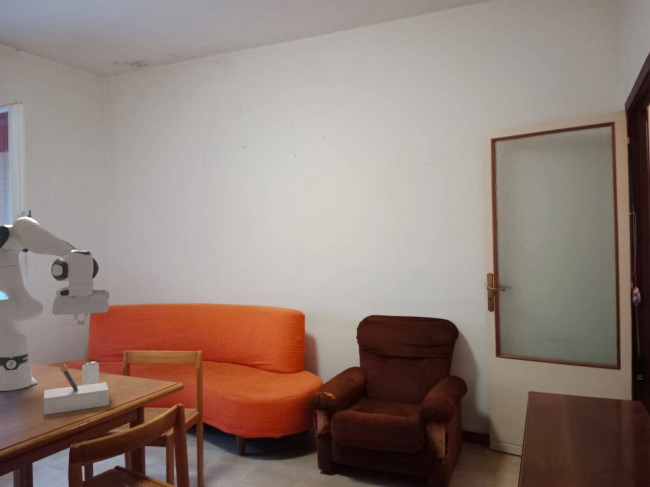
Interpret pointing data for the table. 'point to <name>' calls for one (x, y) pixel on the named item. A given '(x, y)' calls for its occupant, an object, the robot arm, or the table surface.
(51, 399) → the box
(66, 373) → the lever
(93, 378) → the can
